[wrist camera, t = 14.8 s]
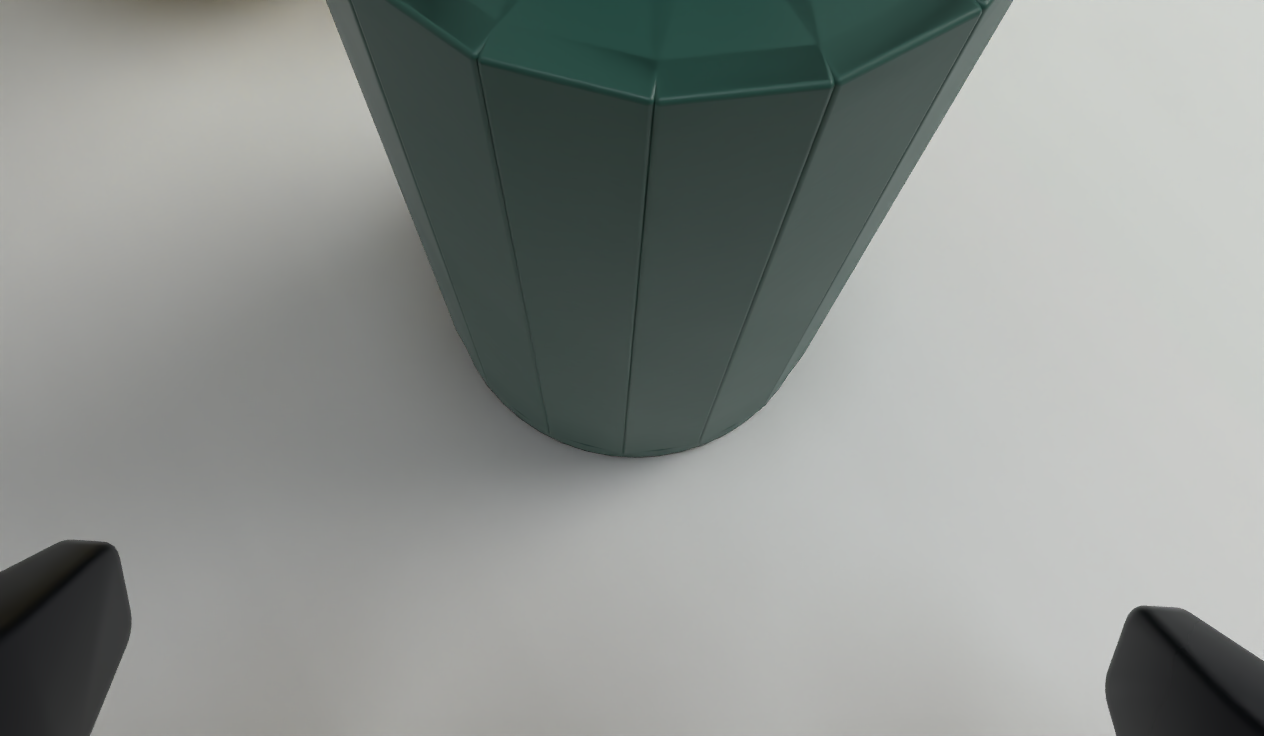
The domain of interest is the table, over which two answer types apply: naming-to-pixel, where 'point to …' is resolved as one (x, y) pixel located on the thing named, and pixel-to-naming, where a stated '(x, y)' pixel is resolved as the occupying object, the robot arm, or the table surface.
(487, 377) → the bottle
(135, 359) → the table surface
